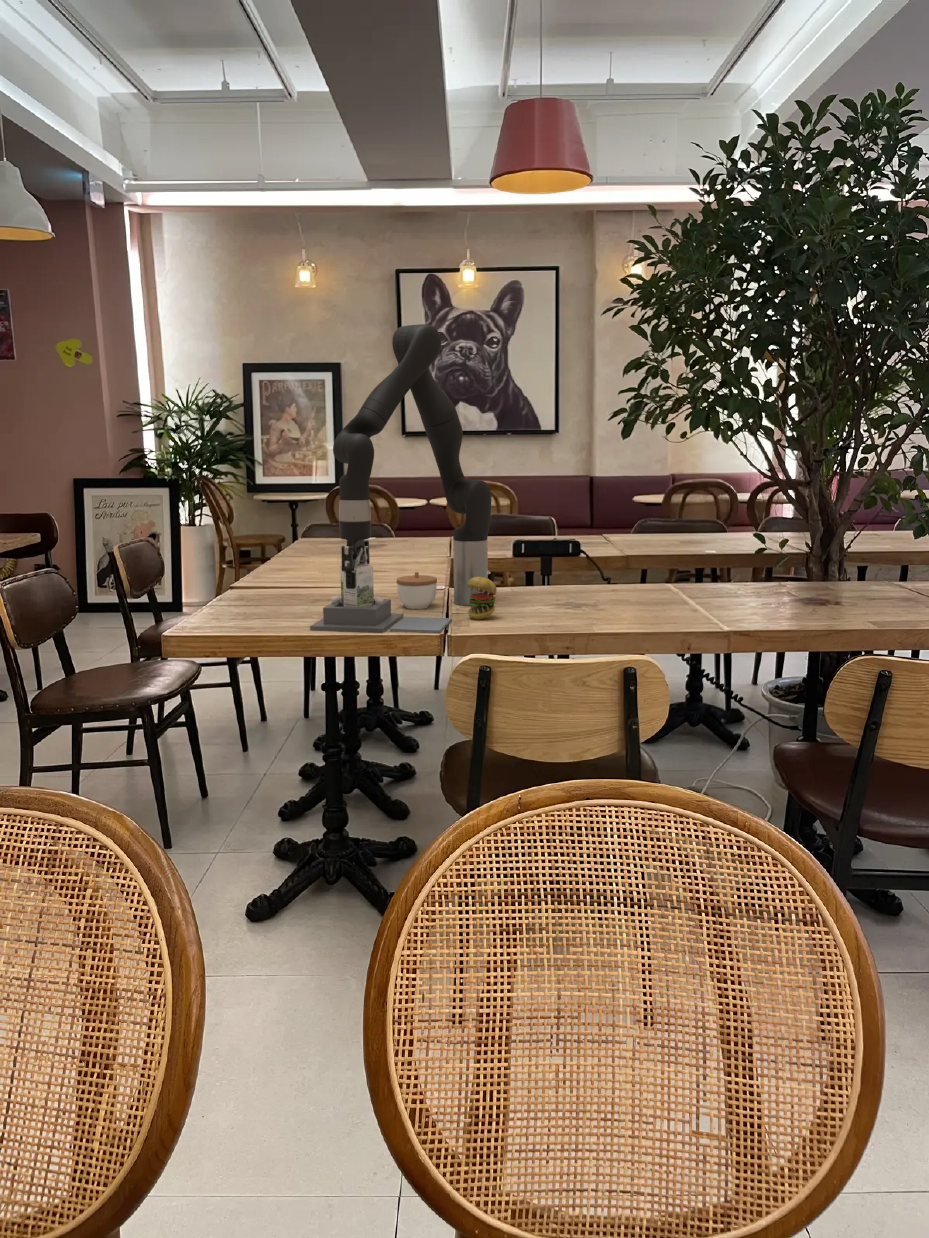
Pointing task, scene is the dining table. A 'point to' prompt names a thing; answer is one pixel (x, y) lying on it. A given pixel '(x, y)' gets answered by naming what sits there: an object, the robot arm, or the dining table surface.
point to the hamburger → (481, 597)
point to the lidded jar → (417, 590)
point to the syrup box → (358, 588)
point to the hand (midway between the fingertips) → (356, 585)
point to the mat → (421, 624)
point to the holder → (357, 617)
